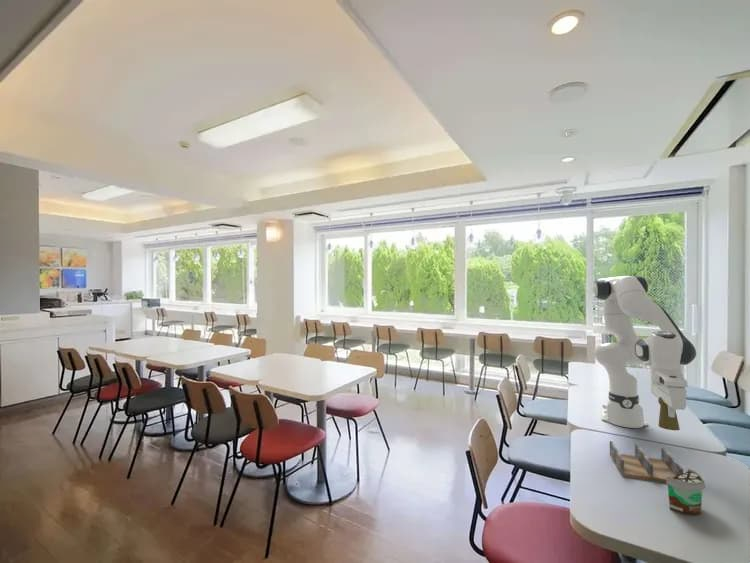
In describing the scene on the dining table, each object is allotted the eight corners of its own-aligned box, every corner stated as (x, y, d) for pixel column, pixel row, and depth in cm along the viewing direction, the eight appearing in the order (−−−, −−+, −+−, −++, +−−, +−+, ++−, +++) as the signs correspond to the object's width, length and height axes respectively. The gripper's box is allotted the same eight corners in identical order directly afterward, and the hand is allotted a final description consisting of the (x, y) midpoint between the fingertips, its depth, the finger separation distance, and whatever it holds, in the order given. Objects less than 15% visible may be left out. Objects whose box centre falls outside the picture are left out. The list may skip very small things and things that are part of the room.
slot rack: (609, 455, 137) (609, 440, 137) (664, 462, 130) (663, 447, 130) (621, 476, 122) (621, 459, 122) (683, 486, 115) (683, 468, 115)
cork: (684, 430, 123) (682, 399, 124) (664, 429, 124) (662, 398, 125) (673, 425, 129) (671, 395, 129) (654, 424, 130) (652, 394, 131)
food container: (692, 523, 98) (691, 487, 98) (667, 510, 103) (666, 476, 103) (715, 511, 102) (714, 477, 103) (689, 499, 108) (688, 467, 108)
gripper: (645, 369, 138) (646, 404, 138) (667, 382, 119) (668, 422, 119) (664, 370, 136) (666, 405, 135) (690, 383, 117) (692, 425, 116)
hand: (667, 413), depth 127 cm, fingers closed on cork, 4 cm apart
